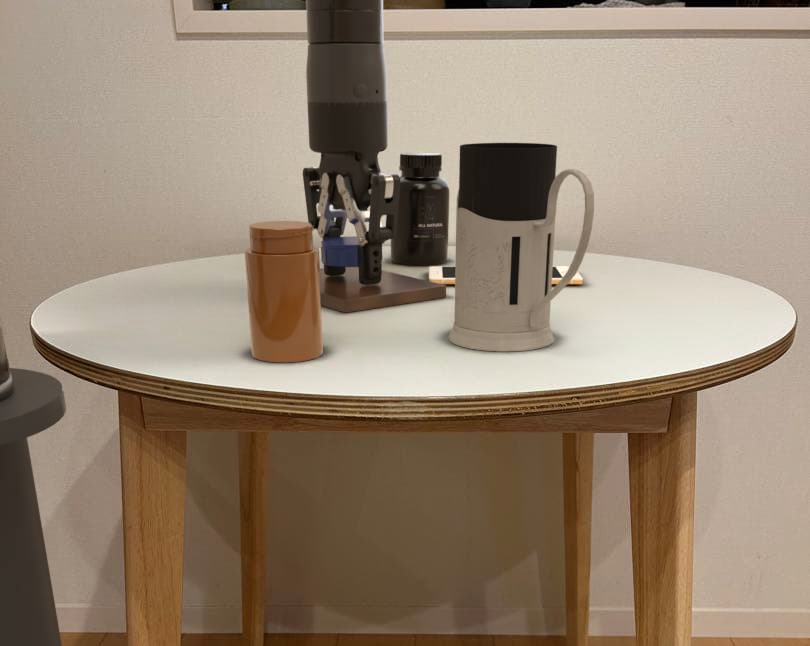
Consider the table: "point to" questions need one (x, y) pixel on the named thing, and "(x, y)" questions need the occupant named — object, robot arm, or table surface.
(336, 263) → the jar lid
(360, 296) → the serving board
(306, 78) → the robot arm
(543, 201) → the glass holder
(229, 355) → the table surface
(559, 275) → the cell phone
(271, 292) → the jar
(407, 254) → the supplement bottle
